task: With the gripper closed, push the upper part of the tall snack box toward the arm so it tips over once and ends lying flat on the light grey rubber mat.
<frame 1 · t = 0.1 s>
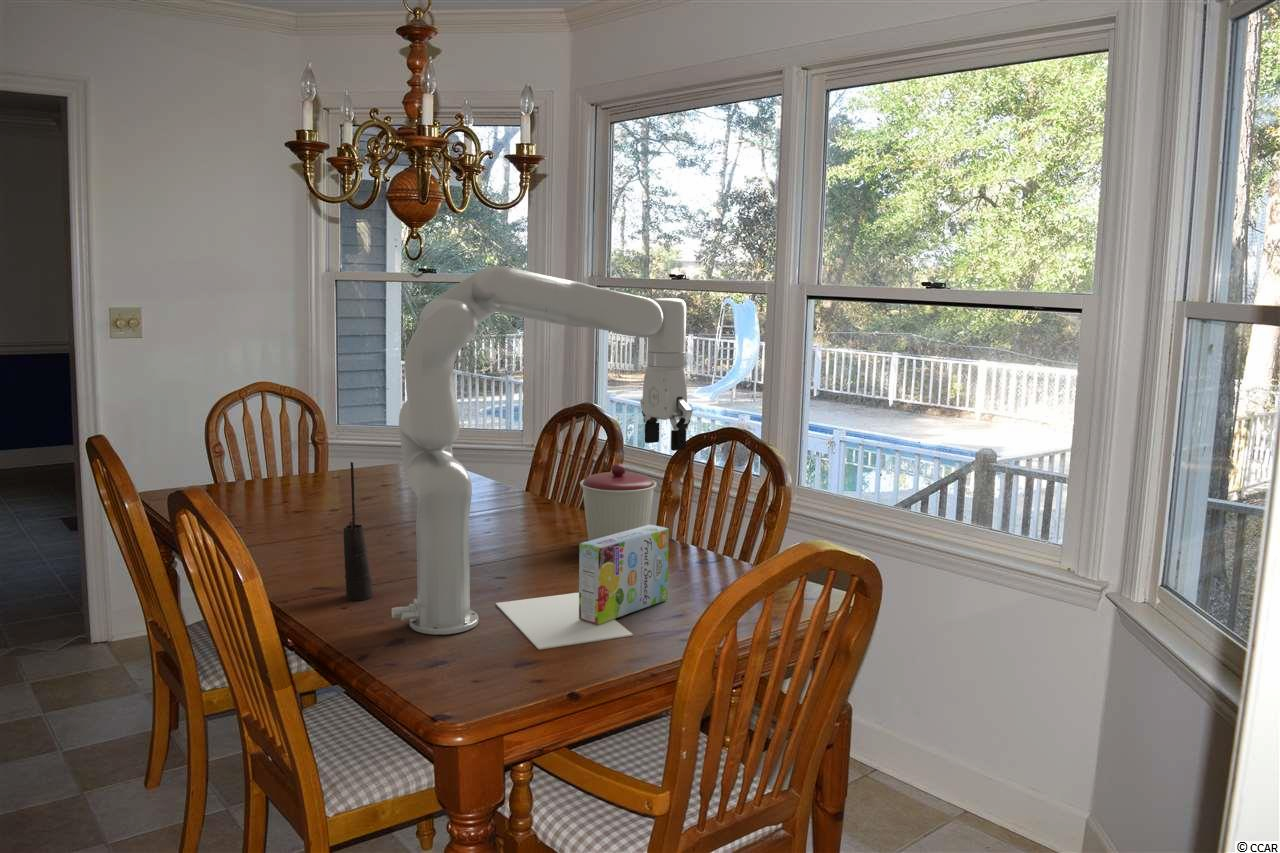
hand: (664, 446, 199), 31 cm above the table, tool pointing down, fingers open, 9 cm apart
snack box: (623, 610, 194), on the table, touching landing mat
butter churn: (358, 596, 201), on the table
canister: (617, 551, 237), on the table
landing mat: (561, 619, 189), on the table
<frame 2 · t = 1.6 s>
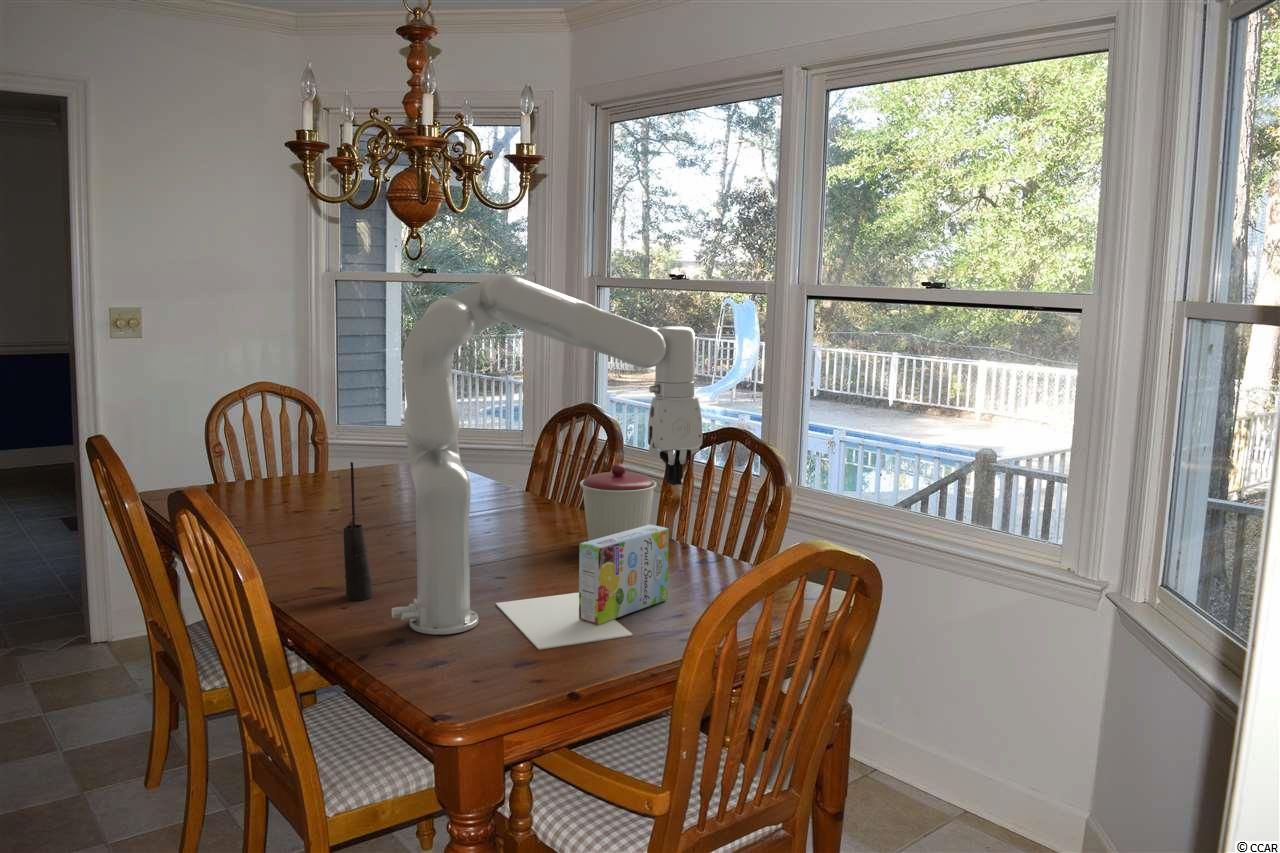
hand: (673, 483, 194), 25 cm above the table, tool pointing down, fingers closed
nothing on the table moved.
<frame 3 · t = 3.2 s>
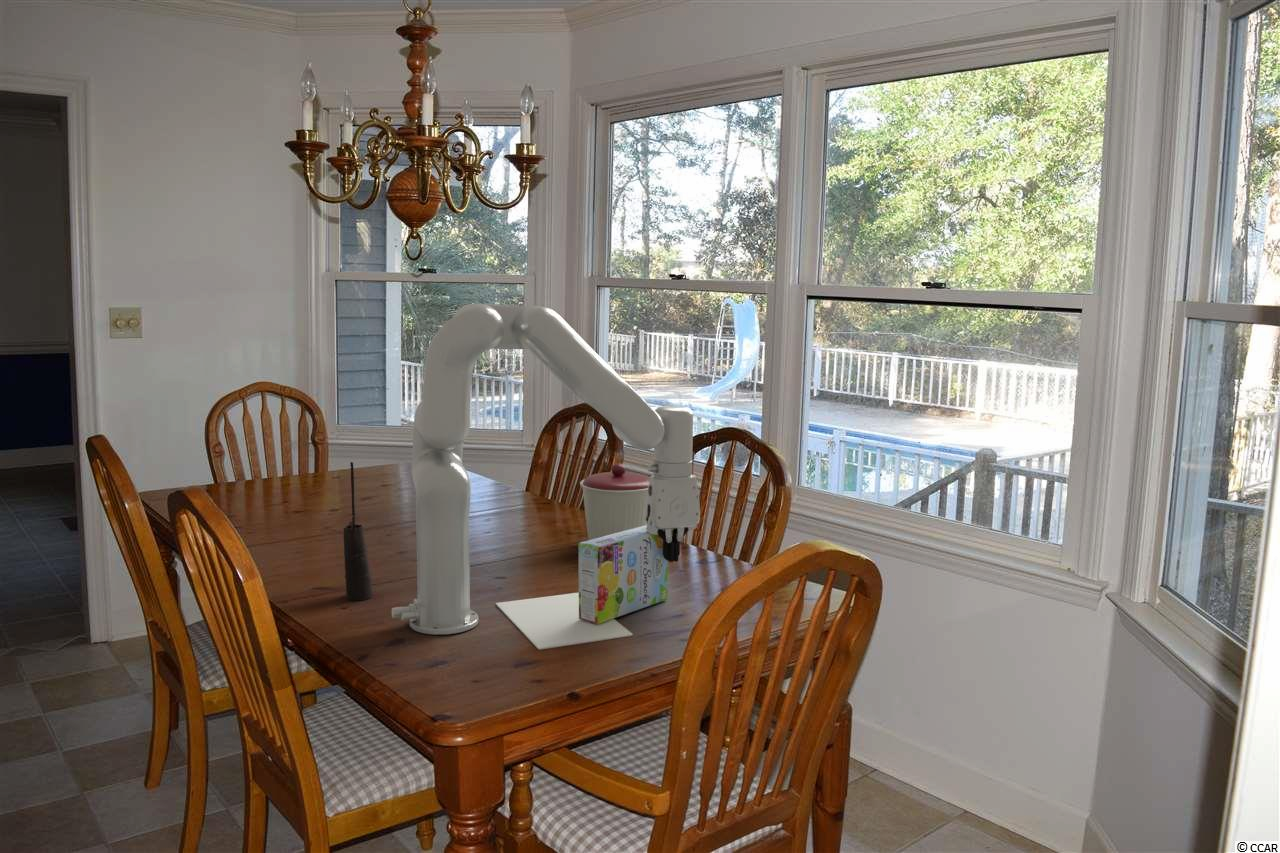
hand: (671, 559, 197), 9 cm above the table, tool pointing down, fingers closed
snack box: (623, 610, 194), on the table, touching gripper, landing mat
everything else where it was.
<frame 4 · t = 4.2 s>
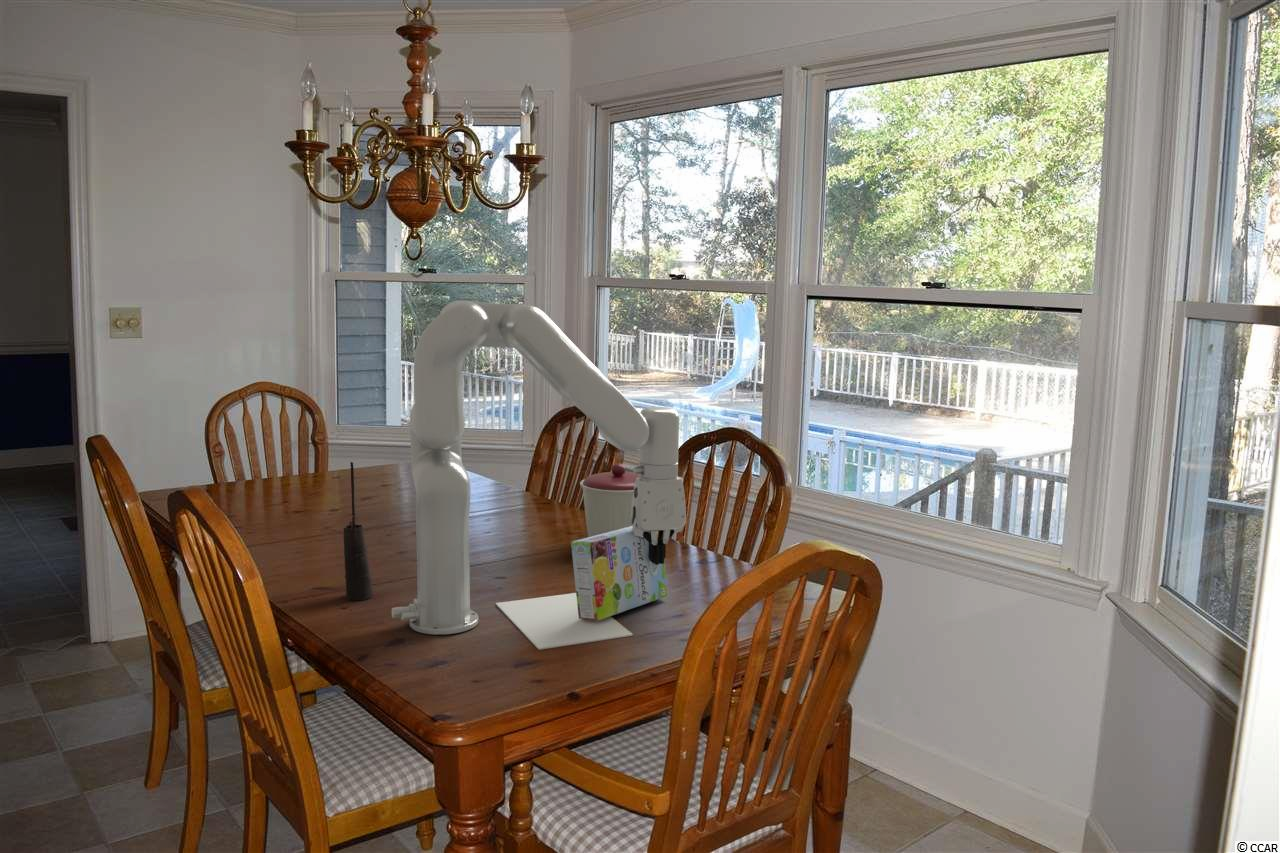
hand: (656, 562, 195), 9 cm above the table, tool pointing down, fingers closed
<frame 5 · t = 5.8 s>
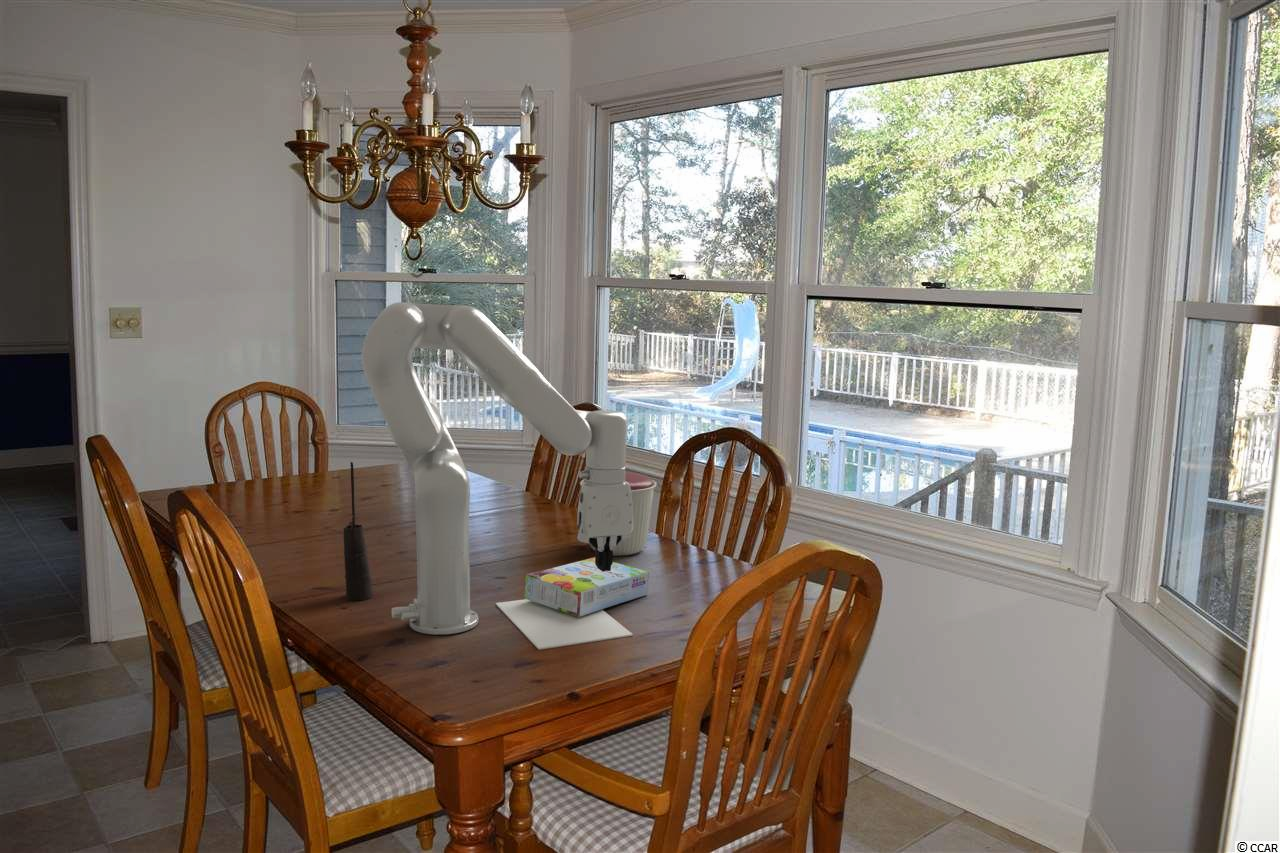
hand: (603, 569, 191), 9 cm above the table, tool pointing down, fingers closed
snack box: (616, 594, 195), point 3 cm above the table, touching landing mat
everything else where it was.
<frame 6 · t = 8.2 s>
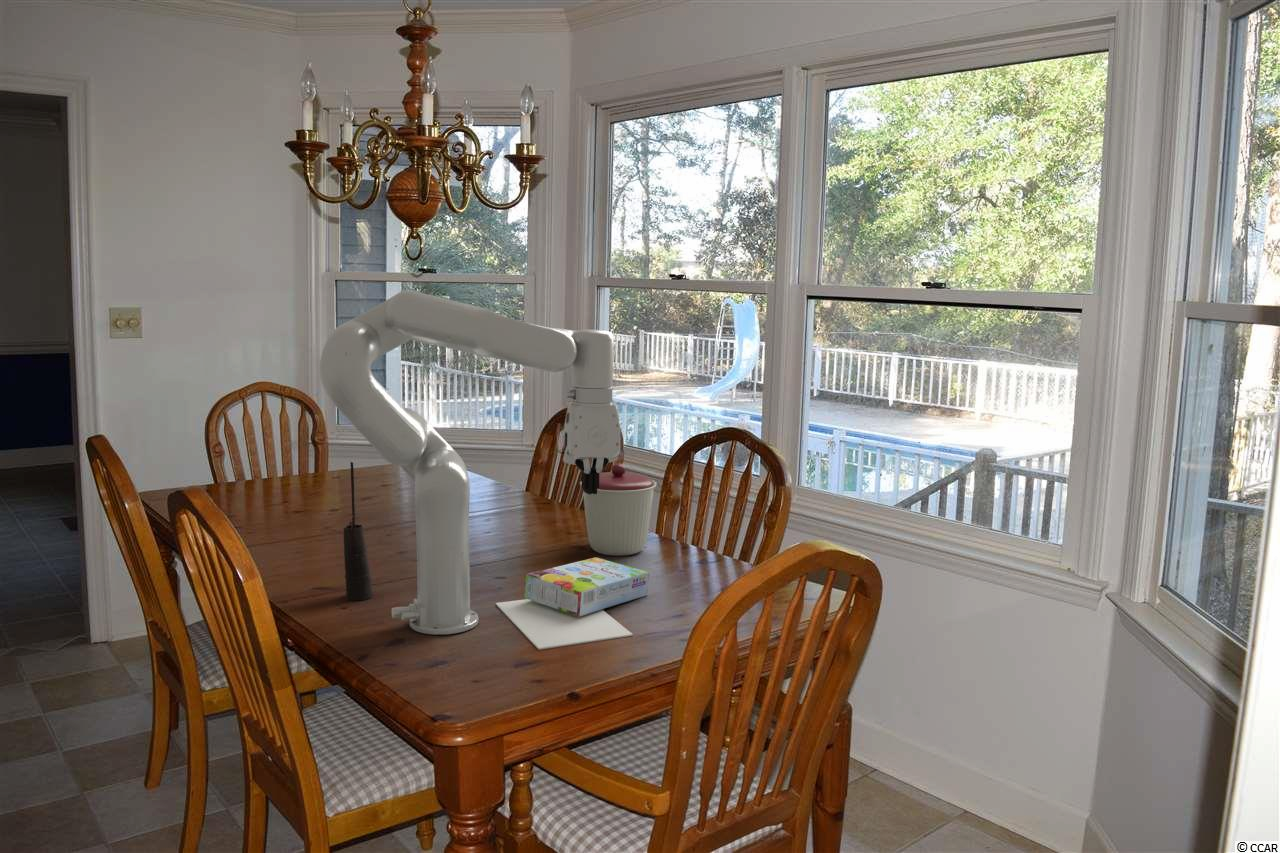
hand: (590, 492, 187), 24 cm above the table, tool pointing down, fingers closed
snack box: (616, 594, 195), point 3 cm above the table, touching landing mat
everything else where it was.
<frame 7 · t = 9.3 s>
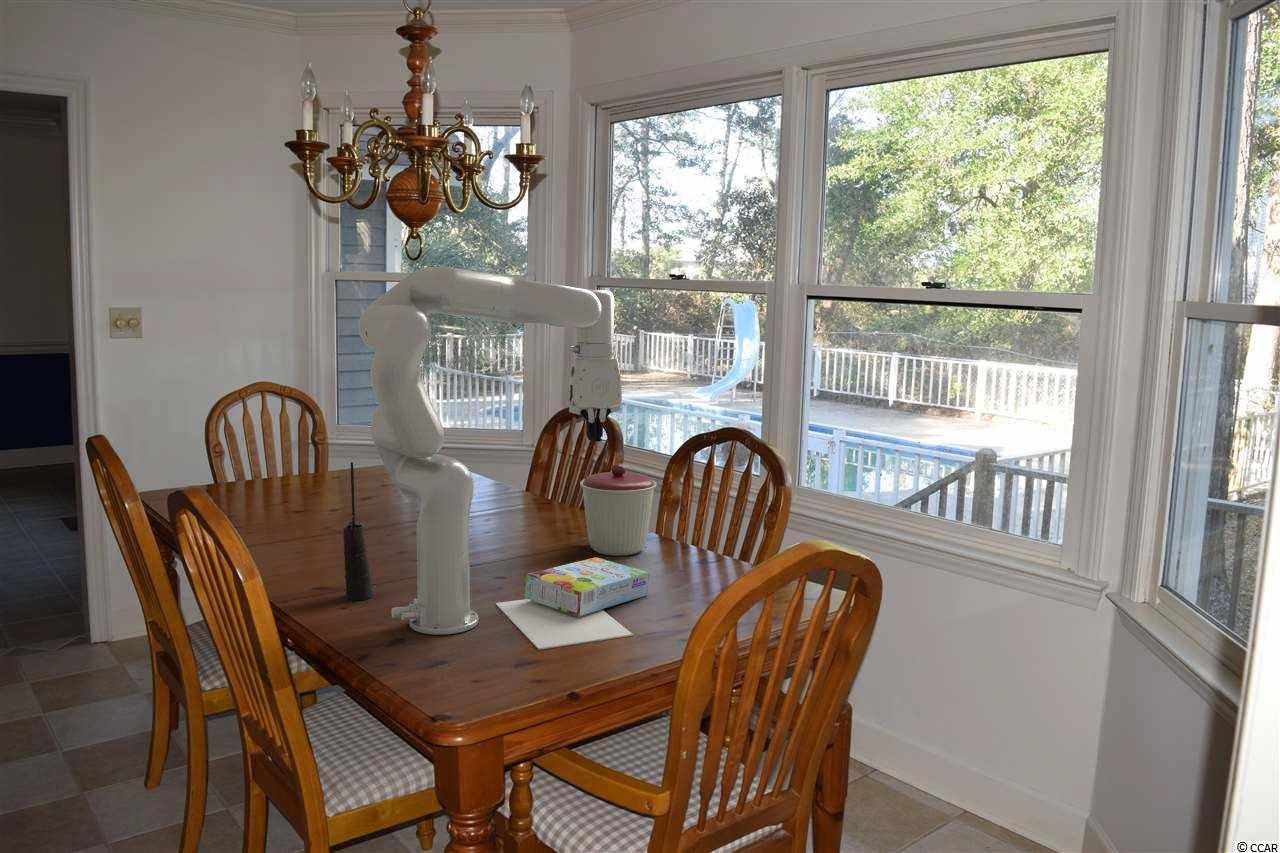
hand: (594, 440, 203), 31 cm above the table, tool pointing down, fingers closed
nothing on the table moved.
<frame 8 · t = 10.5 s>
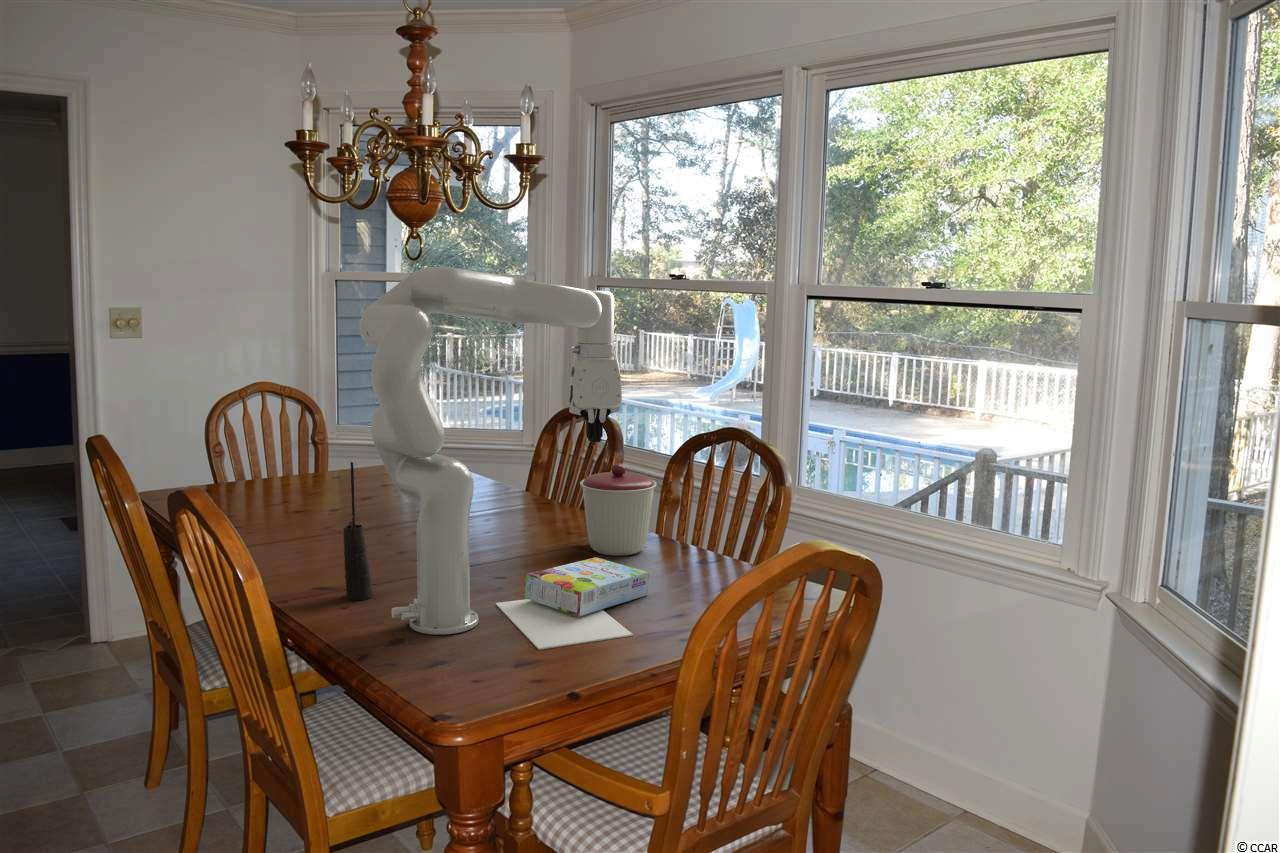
hand: (594, 441, 204), 31 cm above the table, tool pointing down, fingers closed
nothing on the table moved.
at the end: snack box tilted 88°; snack box touching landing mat, table; the gripper is holding nothing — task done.
